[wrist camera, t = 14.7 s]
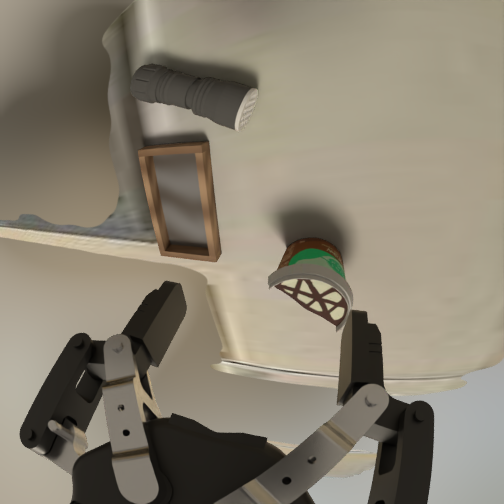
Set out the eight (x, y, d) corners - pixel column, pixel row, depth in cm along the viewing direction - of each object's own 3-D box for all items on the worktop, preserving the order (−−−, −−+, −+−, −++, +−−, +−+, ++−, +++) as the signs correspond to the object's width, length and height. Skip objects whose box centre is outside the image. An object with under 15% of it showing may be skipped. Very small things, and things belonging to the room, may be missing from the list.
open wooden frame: (147, 145, 36) (137, 150, 34) (208, 141, 34) (201, 145, 32) (167, 247, 47) (161, 255, 45) (221, 253, 44) (216, 262, 42)
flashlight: (124, 104, 28) (128, 65, 24) (149, 92, 32) (154, 58, 28) (234, 138, 28) (247, 94, 24) (249, 123, 32) (262, 85, 28)
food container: (367, 262, 39) (373, 310, 31) (340, 285, 42) (339, 334, 35) (304, 213, 37) (297, 255, 29) (278, 242, 41) (265, 287, 33)
